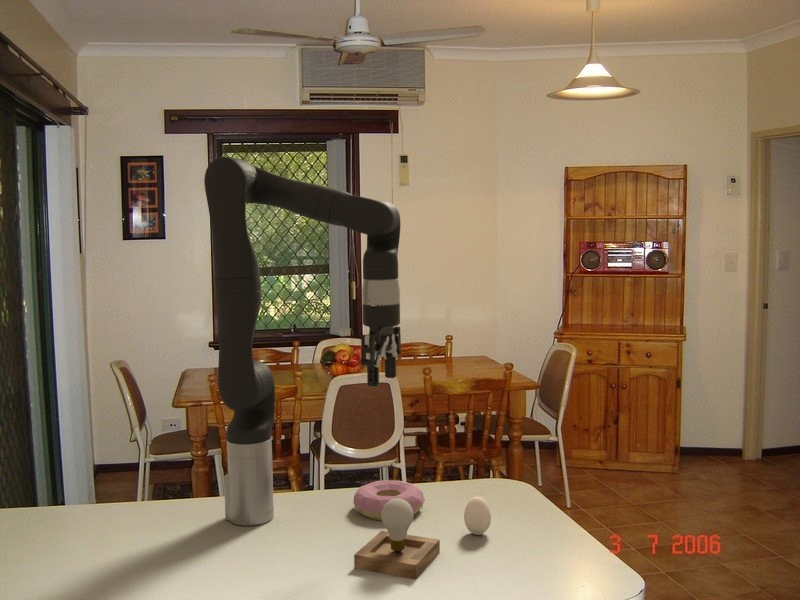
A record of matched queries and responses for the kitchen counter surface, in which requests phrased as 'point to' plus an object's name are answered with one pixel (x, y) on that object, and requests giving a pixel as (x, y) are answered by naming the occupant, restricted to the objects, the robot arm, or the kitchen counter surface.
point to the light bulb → (397, 522)
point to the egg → (477, 516)
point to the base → (397, 555)
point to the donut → (386, 497)
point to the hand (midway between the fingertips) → (382, 381)
